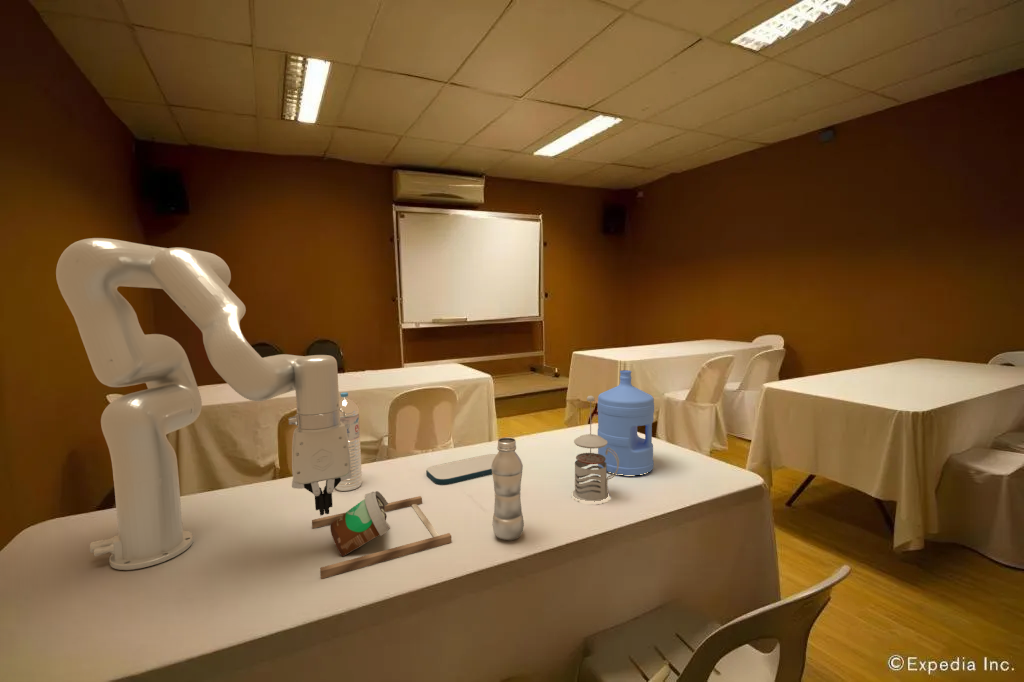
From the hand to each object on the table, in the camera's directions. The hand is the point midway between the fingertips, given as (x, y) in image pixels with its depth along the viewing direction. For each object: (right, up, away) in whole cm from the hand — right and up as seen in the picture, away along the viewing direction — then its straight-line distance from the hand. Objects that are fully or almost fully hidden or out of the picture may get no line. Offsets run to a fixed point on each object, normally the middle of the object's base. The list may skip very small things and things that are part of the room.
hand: (324, 511), depth 86 cm
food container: (+2, -5, +1) cm, 5 cm away
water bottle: (-6, -5, +30) cm, 31 cm away
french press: (+57, -5, +22) cm, 61 cm away
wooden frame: (+9, -7, +5) cm, 13 cm away
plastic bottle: (+36, -7, +4) cm, 37 cm away
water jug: (+69, -3, +41) cm, 81 cm away
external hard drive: (+25, -4, +40) cm, 47 cm away
